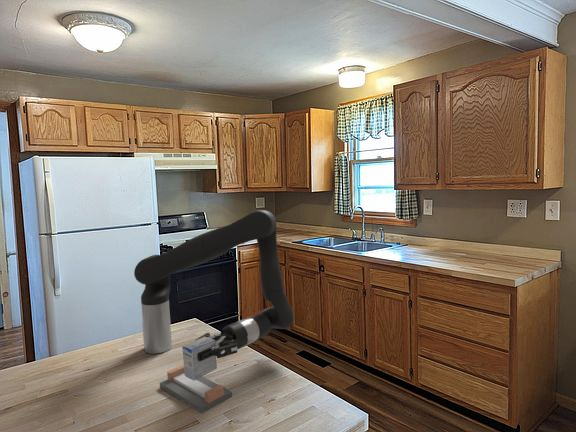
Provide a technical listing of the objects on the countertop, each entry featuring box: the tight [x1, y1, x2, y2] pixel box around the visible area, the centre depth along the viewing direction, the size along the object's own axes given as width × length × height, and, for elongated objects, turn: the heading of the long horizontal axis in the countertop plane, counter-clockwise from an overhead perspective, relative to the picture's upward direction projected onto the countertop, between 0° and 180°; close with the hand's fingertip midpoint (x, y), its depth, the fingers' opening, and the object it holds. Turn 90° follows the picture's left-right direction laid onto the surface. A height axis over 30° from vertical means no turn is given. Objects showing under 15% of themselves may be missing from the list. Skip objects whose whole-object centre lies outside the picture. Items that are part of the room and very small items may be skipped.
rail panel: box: [159, 365, 233, 414], centre depth 111 cm, size 20×10×4 cm, turn 48°
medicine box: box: [181, 337, 218, 381], centre depth 108 cm, size 8×4×9 cm, turn 140°
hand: (192, 354), depth 106 cm, fingers closed on medicine box, 4 cm apart
